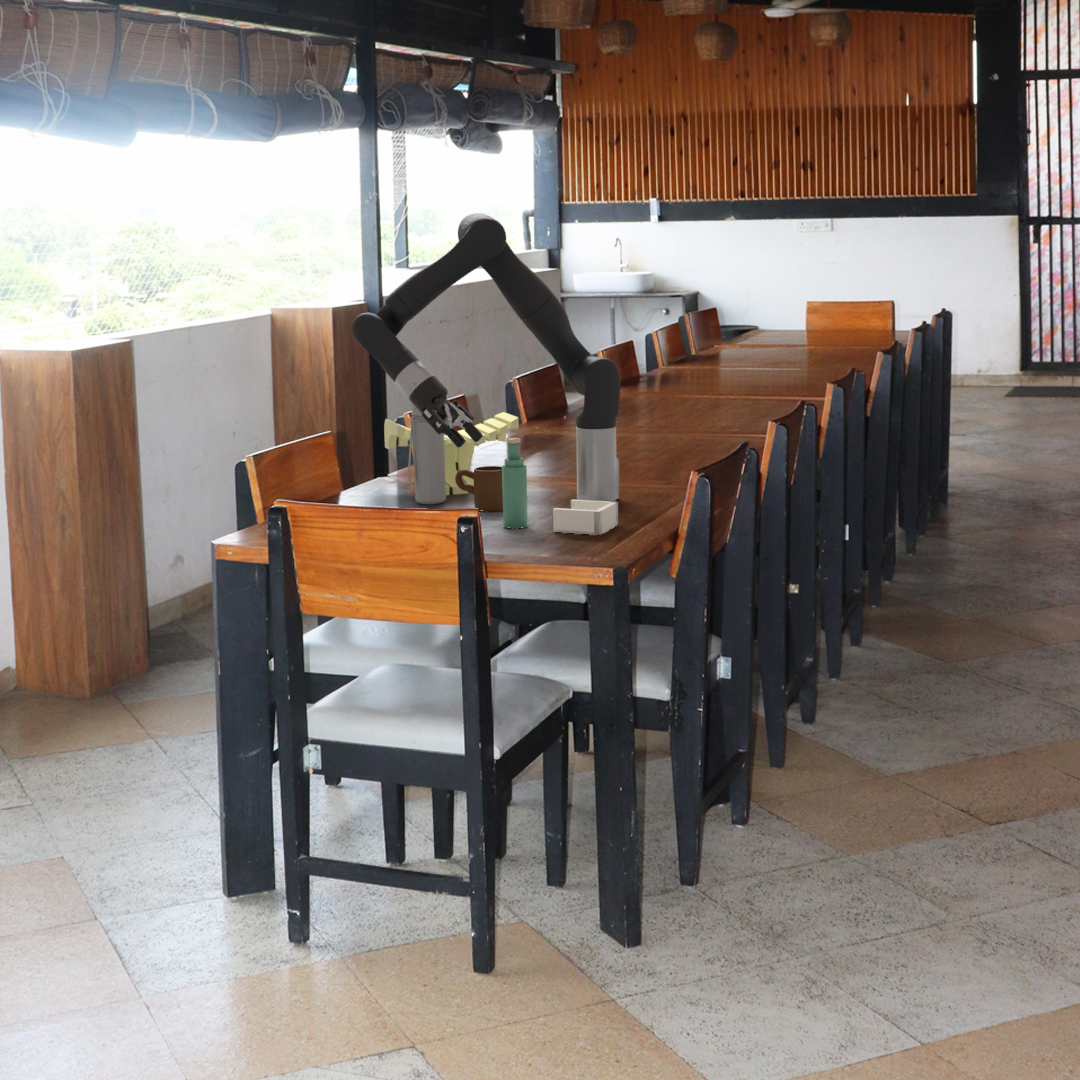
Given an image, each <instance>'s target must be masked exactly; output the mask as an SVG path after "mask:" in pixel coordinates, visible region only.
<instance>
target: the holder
mask: <svg viewBox="0 0 1080 1080" xmlns="http://www.w3.org/2000/svg"><path fill="white" fill-rule="evenodd" d="M552 512H553V513H552V515H553V516H552V518H553V519H552V522H553V523H552V525H553V531H552V532H553V533H554V532H562V533H561V534H566V533H574V534H573V535H581V534H589V535H588V536H597V535H600V536H602V535H603V533H604V534H605V533H607V532H609V531H611V530H612V529H614V528H616V527H618V526H619V502H618V501H613V502H609V501H591V500H577V499H570V508H560V507H554V508H553V509H552ZM617 525H618V526H617ZM615 526H616V527H615ZM610 529H611V530H610ZM601 534H602V535H601Z"/></svg>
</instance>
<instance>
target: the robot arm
mask: <svg viewBox="0 0 1080 1080" xmlns="http://www.w3.org/2000/svg"><path fill="white" fill-rule="evenodd" d="M506 232H507V231H506V230H505V227H504V225H502V224H501V223H500V222H499V221H498V220H496V219H495V218H493V216H490V215H487V214H485V213H482V212H481V213H479V212H475V213H470V214H468V215H466V216H465V217H463V218H462V219H461V221H460V222H459V225H458V229H457V238H458V242H457V243H456V244H455V245H454V246H453V247H452V248H451V249H450V250H449V251H448V252H447V253H445V254H444V255H443V256H441V257H440V258H439V259H437V260H436V261H434V262H432V263H430V264H429V265H428V266H426V267H424V268H421V269H420V270H419V271H417V272H415V273H414V274H413V275H411V276H410V277H408V278H407V279H406V280H405V281H403V282H402V283H401V284H400V285H399V286H398V287H397V288H395V289H394V290H393V291H391V293H389V295H387V297H386V298H385V300H384V305H383V306H382V307H381V308H380V309H379V310H378V311H377V312H376V313H372V312H363V313H360V314H359V315H357V316H356V317H355V318H354V319H353V322H352V325H351V332H352V335H353V337H354V339H355V340H356V341H357V342H358V343H359V344H360V346H361V347H362V348H364V350H365V351H366V352H368V354H369V355H370V356H371V357H373V358H374V360H376V361H377V363H378V364H379V365H380V367H381V368H382V369H383V370H384V372H385V373H386V374H387V375H388V376H389V378H390V379H391V380H392V382H394V383H395V385H397V387H398V389H399V390H400V392H402V394H403V395H404V396H405V397H406V398H407V399H408V400H409V401H410V402H411V404H412V403H413V405H414V406H415V407H416V408H417V409H418V410H419V411H420V412H421V413H422V416H423V417H424V418H425V419H426V421H427V422H428V423H429V424H430V425H431V426H432V428H433V429H434V430H435V431H436V432H437V433H438V434H441V433H443V435H445V436H446V435H447V436H448V437H449V438H450V440H451V441H452V442H453V443H454V444H455V445H456V446H457V447H461V446H462V445H463V444H464V443H465V439H464V438H463V437H462V436H461V434H460V433H459V432H458V431H459V430H458V429H456V428H455V427H457V426H458V427H460V428H461V430H463V429H464V430H465V432H466V433H467V434H468V435H469V436H470V437H471V438H472V439H473V440H474V441H475V442H478V441H479V440H480V439H481V438H482V437H483V435H482V433H481V432H480V431H479V430H478V429H477V428H476V427H475V425H474V423H473V421H474V420H475V416H473V415H472V414H471V413H470V411H468V410H467V408H466V407H464V406H463V405H462V403H461V402H460V401H459V400H457V399H454V401H452V402H451V401H449V400H448V399H447V396H448V392H449V391H448V388H446V386H444V384H443V383H442V382H441V381H440V380H439V379H438V377H437V376H436V375H435V374H434V373H433V372H432V371H431V370H430V368H428V367H427V366H426V365H425V364H424V363H422V362H421V360H419V359H418V358H417V356H416V355H415V354H414V353H413V352H412V351H411V350H410V349H409V348H408V347H407V346H406V345H405V344H404V343H403V342H401V341H400V340H399V339H398V337H397V336H398V335H399V333H401V331H402V330H403V328H404V327H405V326H406V324H408V323H409V321H411V320H412V319H414V318H415V317H416V316H417V315H418V314H419V313H421V312H422V311H423V310H424V309H425V308H426V307H428V306H429V305H430V304H431V303H432V302H434V301H435V300H436V298H438V297H439V296H440V295H442V294H443V293H444V292H445V291H446V290H448V289H449V288H450V287H452V286H453V285H455V284H457V282H458V281H460V280H461V279H463V278H464V277H465V276H467V275H469V274H470V273H471V272H473V271H474V270H477V269H478V268H479V267H481V268H482V269H483V270H484V271H485V272H486V273H487V274H488V276H489V277H490V278H491V279H492V281H493V282H494V284H495V285H496V287H497V289H499V291H500V293H501V294H502V296H503V298H505V300H506V302H507V303H508V304H509V306H510V308H511V309H512V310H513V311H514V312H515V314H516V316H517V317H518V318H519V320H520V321H521V322H523V324H524V326H525V327H526V328H527V329H528V330H529V331H530V332H531V333H532V335H533V336H534V337H535V339H536V340H537V341H538V342H539V343H540V344H541V346H542V347H544V349H545V350H546V351H547V352H548V354H550V356H551V357H552V358H553V359H554V361H555V363H556V364H557V366H558V367H559V368H560V370H561V372H562V373H563V374H564V376H565V378H566V379H567V381H568V383H570V385H571V388H572V389H573V390H574V391H576V392H577V393H578V394H580V395H582V396H583V398H584V399H583V409H582V410H581V412H579V413H578V414H577V415H576V418H575V431H576V433H575V435H576V436H575V437H576V438H575V439H576V440H575V441H576V500H591V501H609V502H616V501H617V500H618V499H619V498H620V462H619V461H620V460H619V458H618V457H617V419H618V416H619V414H620V406H621V375H620V371H619V368H618V366H617V363H615V362H614V361H613V360H612V359H610V358H607V357H601V356H595V355H593V354H592V353H591V352H589V350H587V348H586V347H585V346H584V345H583V344H582V343H581V341H580V340H579V339H578V338H577V337H576V335H575V333H574V331H573V329H572V326H571V324H570V319H569V316H568V314H567V312H566V309H565V308H564V306H563V304H562V303H561V301H560V300H559V299H558V298H557V296H556V295H555V294H554V292H553V291H552V290H551V289H550V287H548V286H547V284H546V283H545V281H543V280H542V279H541V278H540V277H539V276H538V275H537V274H536V273H535V272H534V271H532V270H533V269H531V268H529V267H528V266H527V265H526V264H525V263H524V262H523V261H522V260H520V258H519V257H518V256H517V255H516V253H515V252H514V250H513V249H512V248H511V246H510V245H509V244H508V242H507V233H506ZM436 424H437V425H436ZM437 426H438V427H437Z"/></svg>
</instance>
